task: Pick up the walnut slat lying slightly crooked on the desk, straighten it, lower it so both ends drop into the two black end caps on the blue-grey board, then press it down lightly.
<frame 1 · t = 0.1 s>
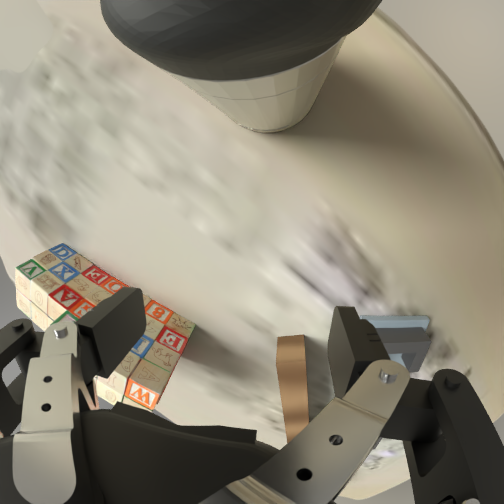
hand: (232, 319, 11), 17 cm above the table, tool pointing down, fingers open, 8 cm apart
stack of blocks: (118, 299, 33), on the table
cap board: (370, 388, 32), on the table
slat: (296, 387, 34), on the table
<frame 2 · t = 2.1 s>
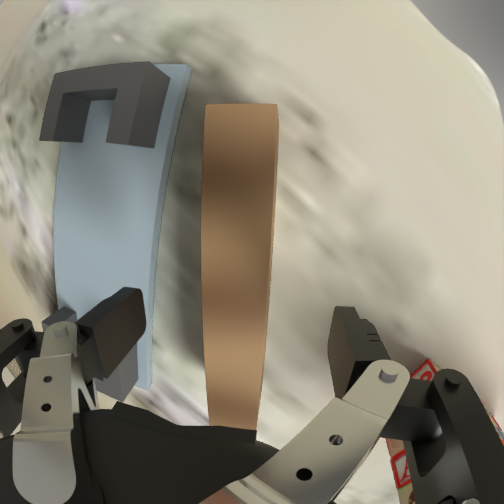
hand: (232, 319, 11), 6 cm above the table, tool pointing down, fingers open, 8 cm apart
stack of blocks: (449, 414, 19), on the table
cap board: (103, 237, 18), on the table
slat: (247, 272, 18), on the table
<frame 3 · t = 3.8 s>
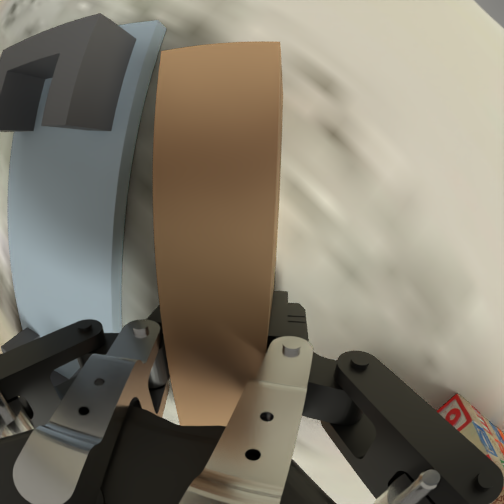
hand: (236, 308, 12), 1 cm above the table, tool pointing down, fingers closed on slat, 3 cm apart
stack of blocks: (467, 441, 15), on the table
cap board: (60, 248, 13), on the table
slat: (239, 301, 13), on the table, touching gripper
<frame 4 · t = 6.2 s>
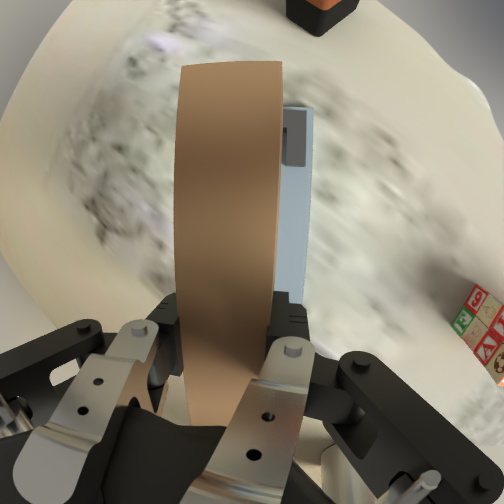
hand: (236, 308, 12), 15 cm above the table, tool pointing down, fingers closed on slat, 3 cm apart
stack of blocks: (497, 329, 26), on the table
battery: (321, 12, 19), on the table
cap board: (259, 235, 26), on the table
slat: (243, 292, 14), point 13 cm above the table, touching gripper
when the fingers open (3 cm above the table, at t = 8.6 s): slat drops 1 cm, resting on cap board.
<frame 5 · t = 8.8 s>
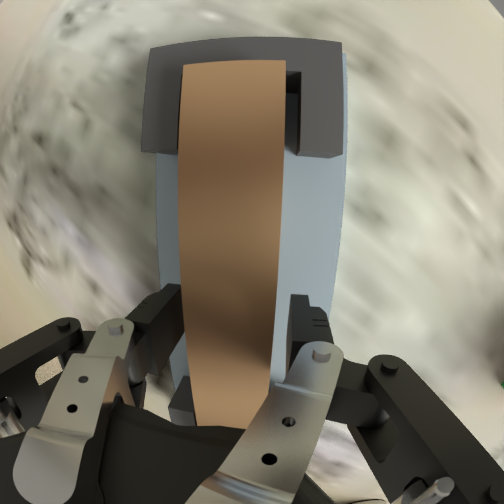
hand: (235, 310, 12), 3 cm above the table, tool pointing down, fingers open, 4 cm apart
cap board: (245, 281, 15), on the table
slat: (246, 287, 14), point 1 cm above the table, touching cap board
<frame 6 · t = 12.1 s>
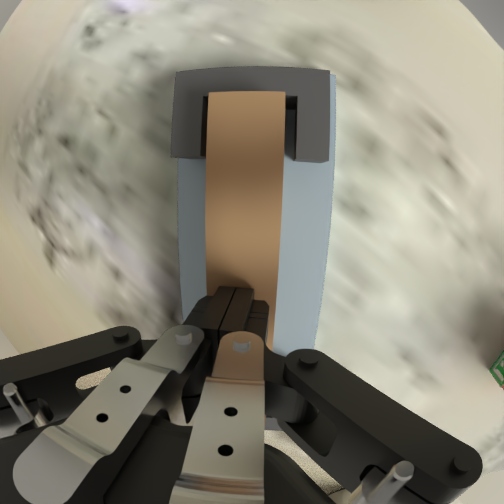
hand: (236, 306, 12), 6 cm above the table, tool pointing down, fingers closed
cap board: (252, 265, 18), on the table
slat: (253, 269, 17), point 1 cm above the table, touching cap board, gripper
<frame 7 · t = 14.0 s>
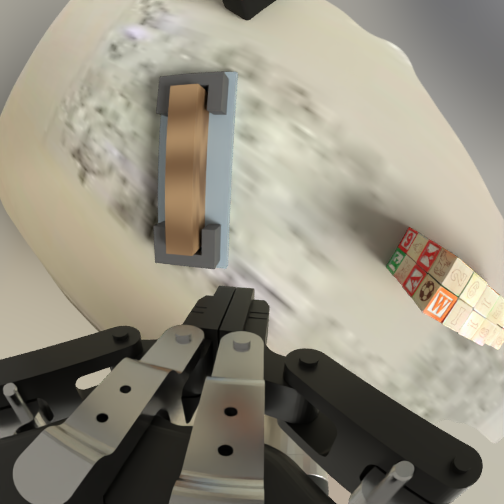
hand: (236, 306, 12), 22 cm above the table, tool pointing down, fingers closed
stack of blocks: (445, 279, 33), on the table
battery: (254, 1, 24), on the table
cap board: (195, 168, 32), on the table
slat: (194, 168, 31), point 1 cm above the table, touching cap board
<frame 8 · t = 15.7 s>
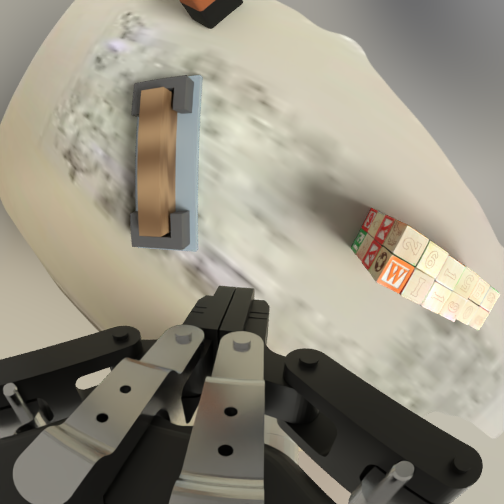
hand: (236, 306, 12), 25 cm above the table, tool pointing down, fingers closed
stack of blocks: (416, 260, 35), on the table
battery: (218, 11, 28), on the table
cap board: (167, 162, 35), on the table
slat: (165, 161, 34), point 1 cm above the table, touching cap board
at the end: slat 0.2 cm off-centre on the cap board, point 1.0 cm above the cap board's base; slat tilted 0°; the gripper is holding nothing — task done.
